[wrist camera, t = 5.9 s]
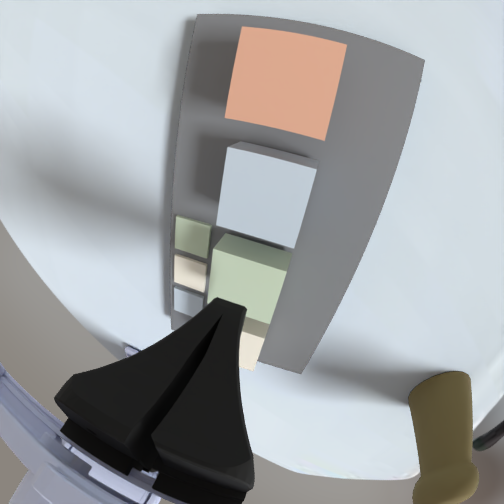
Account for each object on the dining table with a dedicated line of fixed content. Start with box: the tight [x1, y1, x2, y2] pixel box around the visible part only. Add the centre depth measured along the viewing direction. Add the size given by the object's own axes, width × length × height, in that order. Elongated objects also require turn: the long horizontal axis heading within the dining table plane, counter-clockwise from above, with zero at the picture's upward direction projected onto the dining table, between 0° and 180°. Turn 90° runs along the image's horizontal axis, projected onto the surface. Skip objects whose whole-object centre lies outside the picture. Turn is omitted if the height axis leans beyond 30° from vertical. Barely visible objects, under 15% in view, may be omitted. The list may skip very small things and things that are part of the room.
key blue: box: [216, 141, 319, 248], centre depth 11 cm, size 3×3×2 cm
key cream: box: [239, 317, 270, 371], centre depth 16 cm, size 3×3×2 cm
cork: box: [408, 371, 479, 504], centre depth 13 cm, size 6×6×11 cm
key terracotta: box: [225, 27, 347, 141], centre depth 8 cm, size 3×3×2 cm
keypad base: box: [170, 14, 425, 374], centre depth 14 cm, size 20×10×1 cm, turn 169°
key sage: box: [207, 233, 292, 324], centre depth 14 cm, size 3×3×2 cm
